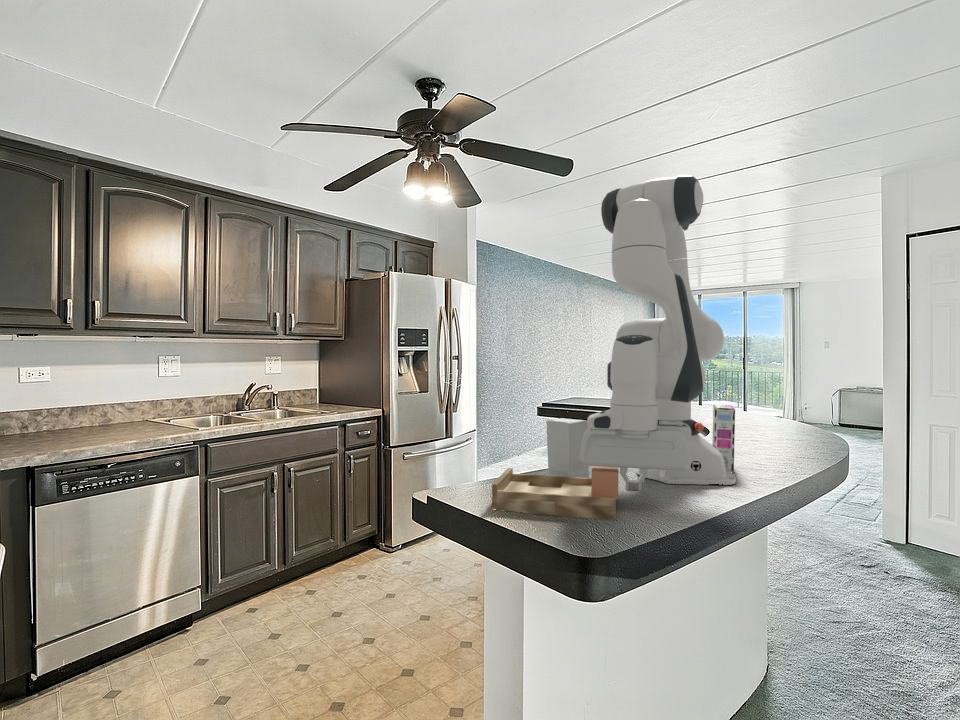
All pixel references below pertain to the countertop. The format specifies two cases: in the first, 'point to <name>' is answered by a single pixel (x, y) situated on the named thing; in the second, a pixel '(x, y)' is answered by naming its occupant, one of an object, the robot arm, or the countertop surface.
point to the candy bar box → (724, 433)
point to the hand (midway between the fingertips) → (633, 490)
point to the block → (605, 482)
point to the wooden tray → (550, 496)
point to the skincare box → (566, 448)
